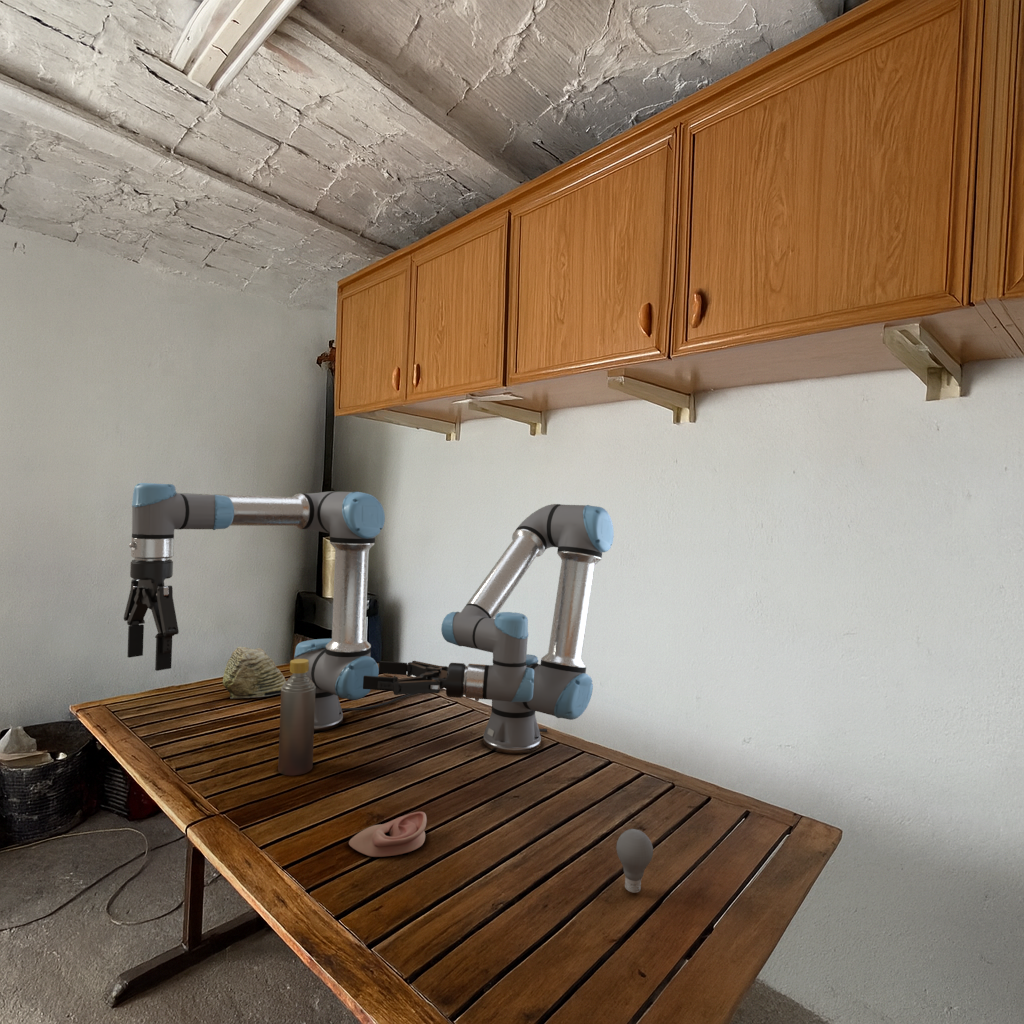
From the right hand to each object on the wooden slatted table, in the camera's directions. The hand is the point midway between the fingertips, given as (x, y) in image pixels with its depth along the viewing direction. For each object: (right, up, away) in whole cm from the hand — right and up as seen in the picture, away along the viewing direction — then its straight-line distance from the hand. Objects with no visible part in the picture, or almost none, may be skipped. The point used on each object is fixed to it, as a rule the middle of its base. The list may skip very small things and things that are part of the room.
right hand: (371, 674), depth 143 cm
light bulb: (+52, -27, -37) cm, 69 cm away
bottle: (-19, -23, +4) cm, 30 cm away
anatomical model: (+9, -25, -26) cm, 36 cm away
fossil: (-49, -21, +55) cm, 76 cm away
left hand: (-43, +6, -14) cm, 45 cm away
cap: (-17, +2, +3) cm, 18 cm away
